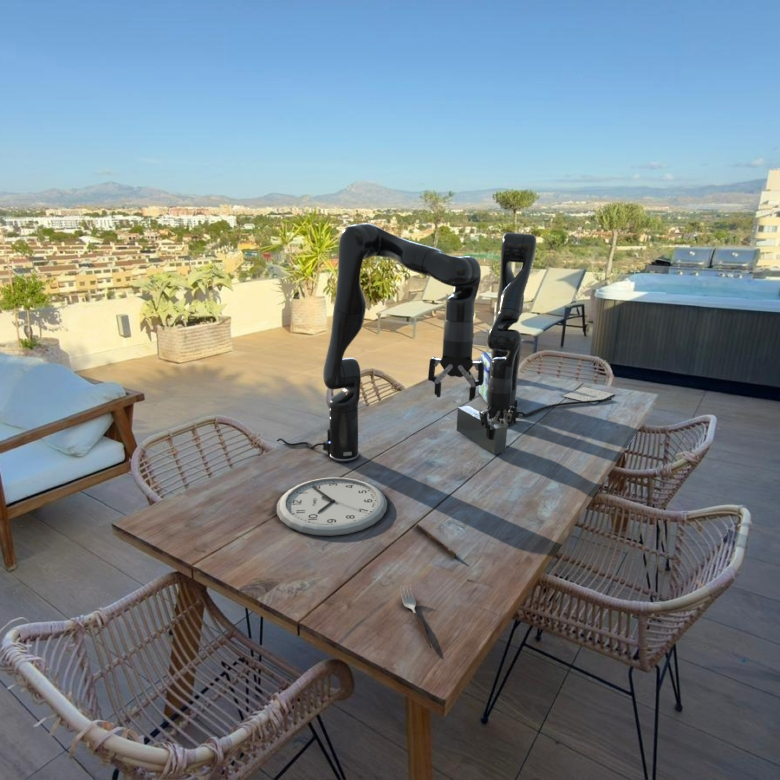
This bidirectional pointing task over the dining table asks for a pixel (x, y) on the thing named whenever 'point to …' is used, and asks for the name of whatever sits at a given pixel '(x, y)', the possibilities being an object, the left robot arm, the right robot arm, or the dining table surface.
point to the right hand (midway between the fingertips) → (495, 437)
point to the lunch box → (485, 374)
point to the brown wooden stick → (436, 541)
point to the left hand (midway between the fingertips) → (454, 398)
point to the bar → (481, 430)
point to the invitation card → (588, 394)
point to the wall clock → (331, 506)
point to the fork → (411, 605)
